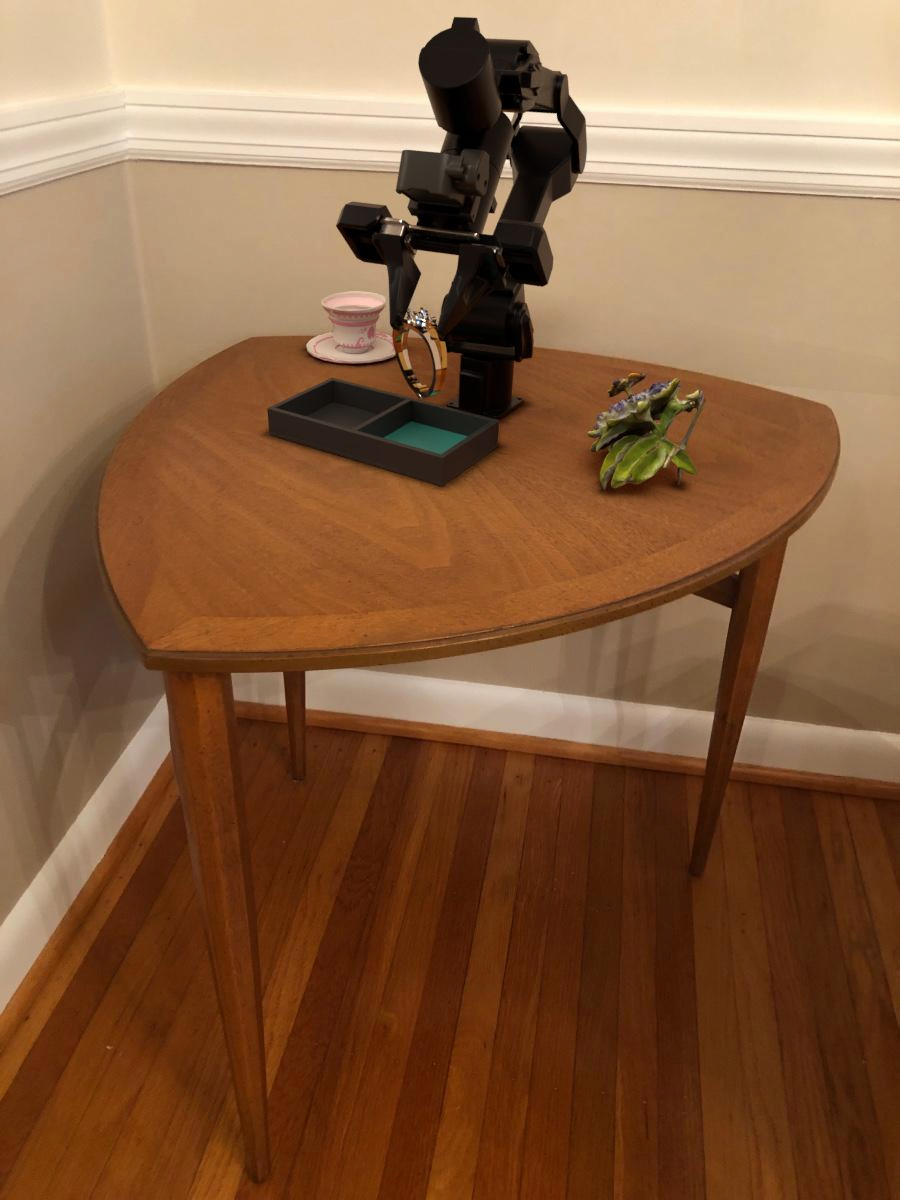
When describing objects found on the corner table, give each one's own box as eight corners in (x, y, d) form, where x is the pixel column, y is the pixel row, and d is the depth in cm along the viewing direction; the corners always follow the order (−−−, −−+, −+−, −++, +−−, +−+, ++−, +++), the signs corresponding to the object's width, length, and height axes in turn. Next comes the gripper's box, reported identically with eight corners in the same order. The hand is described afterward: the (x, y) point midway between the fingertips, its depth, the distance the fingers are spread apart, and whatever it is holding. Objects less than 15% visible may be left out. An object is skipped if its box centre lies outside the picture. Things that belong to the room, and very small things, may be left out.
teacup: (363, 372, 112) (361, 320, 108) (286, 352, 117) (282, 302, 114) (420, 346, 120) (421, 297, 117) (346, 328, 125) (344, 281, 122)
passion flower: (610, 506, 96) (642, 394, 96) (707, 523, 89) (743, 402, 89) (552, 475, 87) (588, 351, 88) (656, 491, 81) (695, 357, 81)
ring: (457, 405, 84) (452, 316, 80) (425, 414, 83) (419, 324, 78) (420, 381, 89) (413, 296, 85) (389, 389, 88) (381, 304, 83)
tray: (333, 402, 104) (332, 377, 102) (498, 446, 95) (499, 419, 93) (269, 434, 96) (266, 408, 94) (442, 486, 87) (442, 457, 86)
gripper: (340, 98, 79) (282, 266, 76) (554, 115, 73) (496, 297, 71) (385, 183, 89) (334, 332, 87) (574, 203, 83) (525, 364, 81)
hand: (416, 331), depth 81 cm, fingers closed on ring, 4 cm apart
